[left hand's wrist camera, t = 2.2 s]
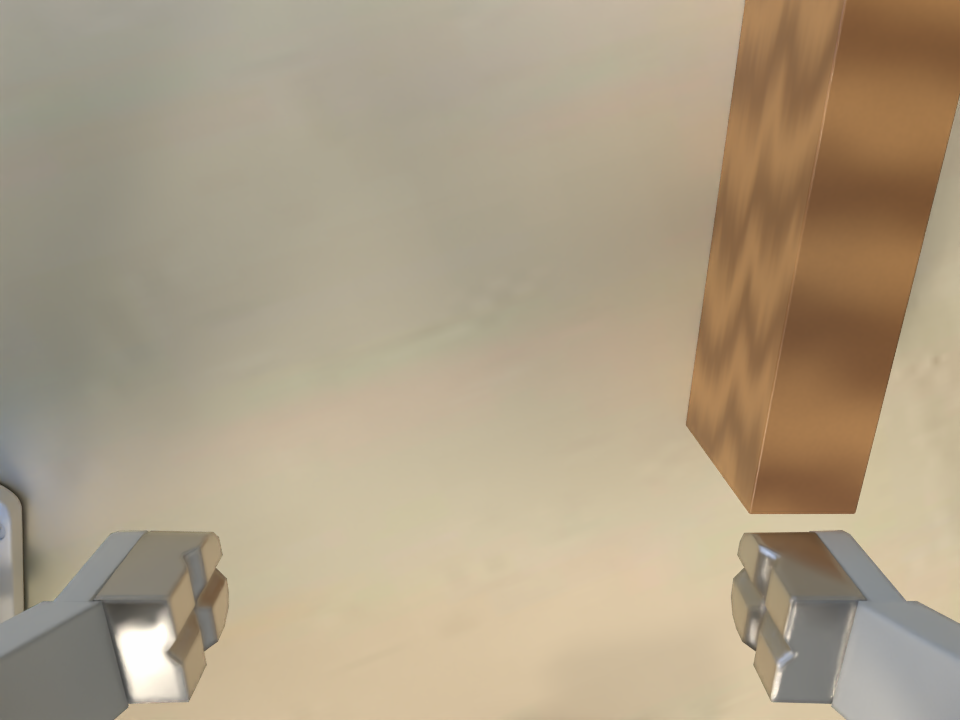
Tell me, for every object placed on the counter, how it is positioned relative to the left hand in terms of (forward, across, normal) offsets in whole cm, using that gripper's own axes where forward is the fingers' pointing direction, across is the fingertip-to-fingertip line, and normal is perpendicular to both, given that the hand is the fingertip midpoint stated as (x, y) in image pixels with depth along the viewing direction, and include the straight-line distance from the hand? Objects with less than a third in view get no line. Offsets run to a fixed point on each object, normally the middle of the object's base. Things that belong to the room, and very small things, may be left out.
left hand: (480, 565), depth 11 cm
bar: (+28, -15, -2) cm, 32 cm away
